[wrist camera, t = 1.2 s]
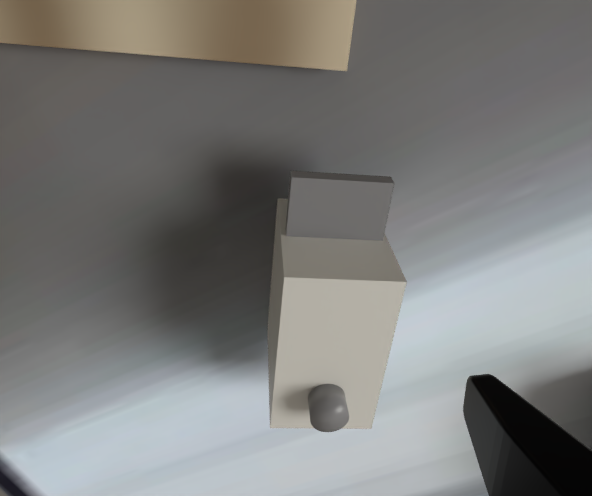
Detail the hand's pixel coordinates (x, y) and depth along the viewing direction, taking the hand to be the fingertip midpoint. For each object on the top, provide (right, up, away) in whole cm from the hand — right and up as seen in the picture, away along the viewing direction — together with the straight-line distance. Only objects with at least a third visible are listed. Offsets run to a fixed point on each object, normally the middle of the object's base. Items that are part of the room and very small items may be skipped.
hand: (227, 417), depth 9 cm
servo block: (+2, +2, +14) cm, 14 cm away
